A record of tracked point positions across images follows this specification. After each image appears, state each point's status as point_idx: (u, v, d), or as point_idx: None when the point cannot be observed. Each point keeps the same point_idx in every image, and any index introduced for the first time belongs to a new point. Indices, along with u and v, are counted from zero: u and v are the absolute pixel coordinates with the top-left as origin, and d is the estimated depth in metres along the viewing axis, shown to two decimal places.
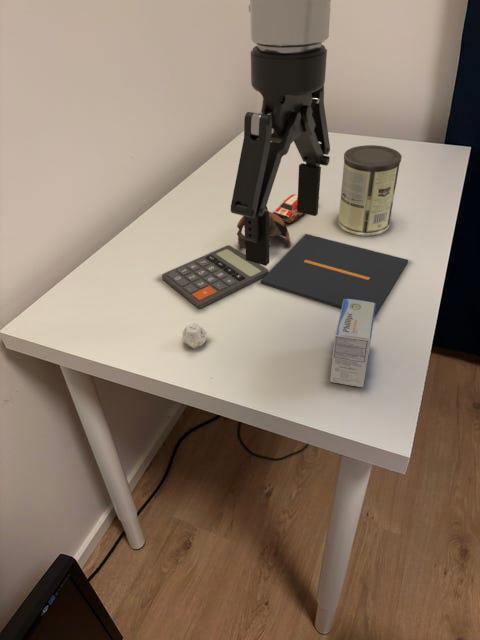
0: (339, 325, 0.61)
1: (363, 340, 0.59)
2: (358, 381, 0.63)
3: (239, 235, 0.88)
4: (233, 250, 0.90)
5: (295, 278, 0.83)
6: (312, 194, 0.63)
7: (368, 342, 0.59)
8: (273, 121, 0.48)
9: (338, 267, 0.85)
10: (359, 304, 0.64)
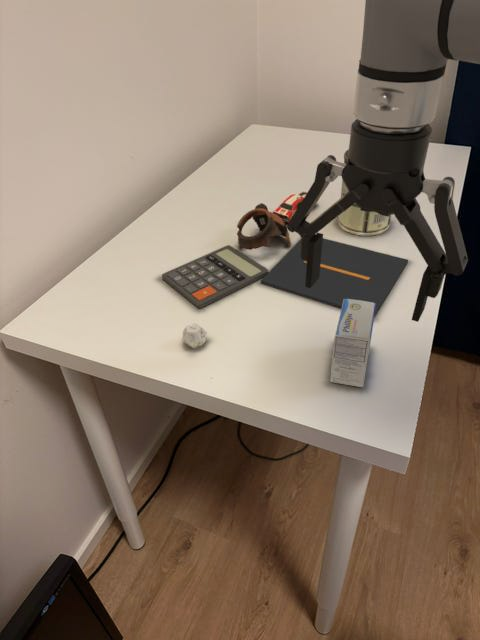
0: (339, 325, 0.61)
1: (363, 340, 0.59)
2: (358, 381, 0.63)
3: (239, 235, 0.88)
4: (233, 250, 0.90)
5: (295, 278, 0.83)
6: (319, 260, 0.61)
7: (368, 342, 0.59)
8: None
9: (338, 267, 0.85)
10: (359, 304, 0.64)
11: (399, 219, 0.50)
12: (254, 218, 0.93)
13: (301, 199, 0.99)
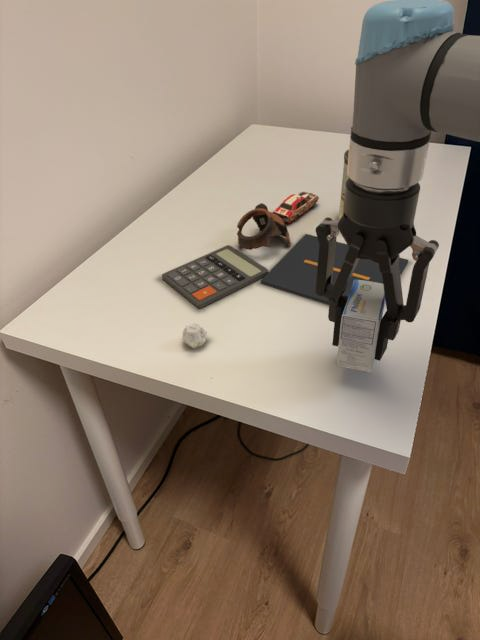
0: (347, 305, 0.58)
1: (371, 320, 0.56)
2: (366, 365, 0.60)
3: (239, 235, 0.88)
4: (233, 250, 0.90)
5: (295, 278, 0.83)
6: None
7: (376, 323, 0.56)
8: None
9: (338, 267, 0.85)
10: (370, 285, 0.61)
11: (381, 268, 0.54)
12: (254, 218, 0.93)
13: (301, 199, 0.99)
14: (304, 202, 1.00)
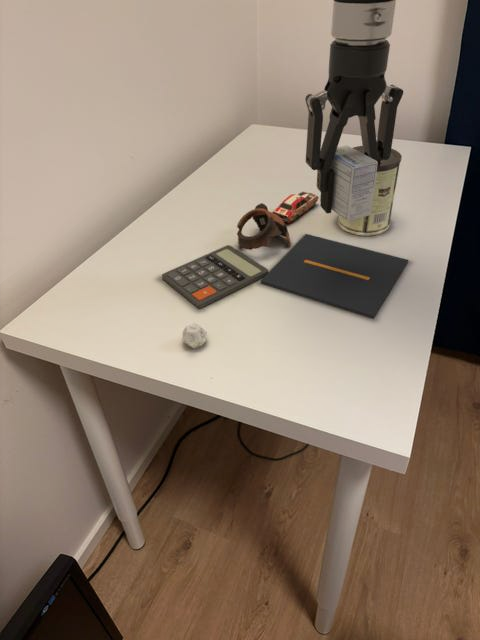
0: (347, 162, 0.69)
1: (373, 164, 0.69)
2: (368, 209, 0.73)
3: (239, 235, 0.88)
4: (233, 250, 0.90)
5: (295, 278, 0.83)
6: None
7: (376, 164, 0.69)
8: None
9: (338, 267, 0.85)
10: (340, 149, 0.73)
11: (368, 117, 0.67)
12: (254, 218, 0.93)
13: (301, 199, 0.99)
14: (304, 202, 1.00)
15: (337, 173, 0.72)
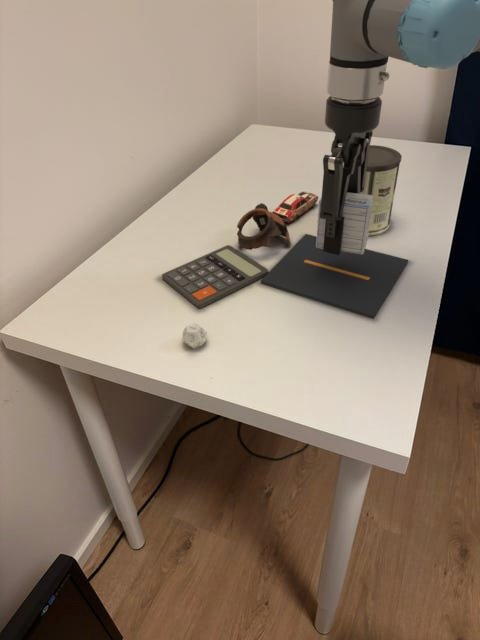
0: (356, 205, 0.74)
1: (372, 198, 0.76)
2: (367, 238, 0.80)
3: (239, 235, 0.88)
4: (233, 250, 0.90)
5: (295, 278, 0.83)
6: None
7: None
8: None
9: (338, 267, 0.85)
10: None
11: (362, 161, 0.73)
12: (254, 218, 0.93)
13: (300, 199, 0.99)
14: (303, 202, 1.00)
15: None
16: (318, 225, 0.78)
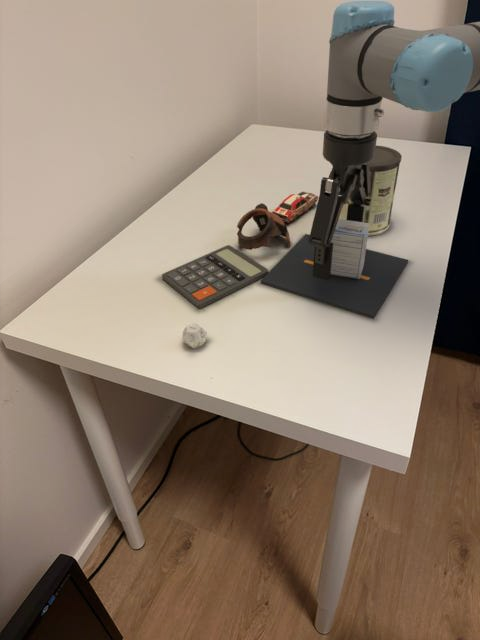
0: (353, 233, 0.77)
1: (368, 226, 0.79)
2: None
3: (239, 235, 0.88)
4: (233, 250, 0.90)
5: (295, 278, 0.83)
6: None
7: None
8: None
9: None
10: None
11: (361, 184, 0.76)
12: (254, 218, 0.93)
13: (300, 199, 0.99)
14: (303, 202, 1.00)
15: (340, 244, 0.79)
16: None
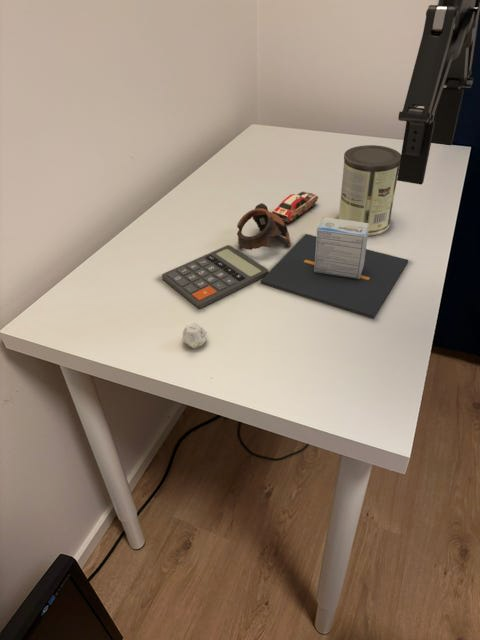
0: (353, 233, 0.77)
1: (368, 226, 0.79)
2: None
3: (239, 235, 0.88)
4: (233, 250, 0.90)
5: (295, 278, 0.83)
6: None
7: None
8: None
9: None
10: (327, 223, 0.79)
11: (471, 40, 0.52)
12: (254, 218, 0.93)
13: (300, 199, 0.99)
14: (303, 202, 1.00)
15: (340, 244, 0.79)
16: (316, 251, 0.81)
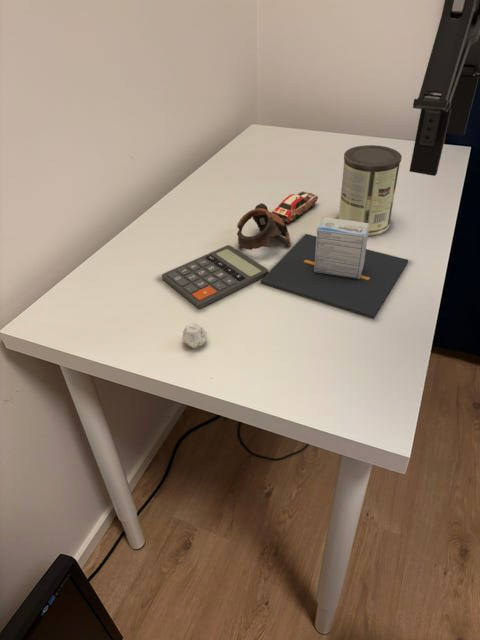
0: (353, 233, 0.77)
1: (368, 226, 0.79)
2: None
3: (239, 235, 0.88)
4: (233, 250, 0.90)
5: (295, 278, 0.83)
6: None
7: None
8: None
9: None
10: (327, 223, 0.79)
11: None
12: (254, 218, 0.93)
13: (300, 199, 0.99)
14: (303, 202, 1.00)
15: (340, 244, 0.79)
16: (316, 251, 0.81)
